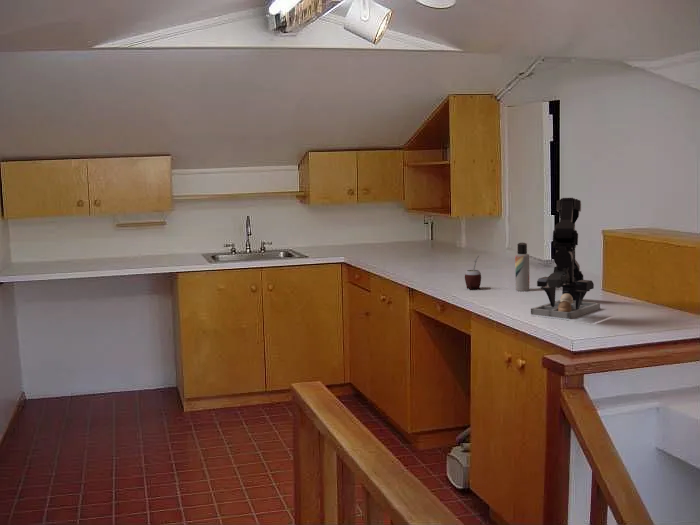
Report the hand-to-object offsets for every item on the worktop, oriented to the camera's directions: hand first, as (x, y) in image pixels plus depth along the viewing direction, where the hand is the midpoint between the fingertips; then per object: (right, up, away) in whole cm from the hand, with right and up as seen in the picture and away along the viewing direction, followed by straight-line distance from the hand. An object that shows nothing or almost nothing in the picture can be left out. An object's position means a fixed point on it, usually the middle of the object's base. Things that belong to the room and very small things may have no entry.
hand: (564, 308), depth 277 cm
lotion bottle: (-2, +4, +60) cm, 60 cm away
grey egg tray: (+2, -2, +8) cm, 8 cm away
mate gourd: (-21, +4, +67) cm, 70 cm away
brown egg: (0, -3, 0) cm, 3 cm away
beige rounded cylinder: (+5, -1, +15) cm, 16 cm away
